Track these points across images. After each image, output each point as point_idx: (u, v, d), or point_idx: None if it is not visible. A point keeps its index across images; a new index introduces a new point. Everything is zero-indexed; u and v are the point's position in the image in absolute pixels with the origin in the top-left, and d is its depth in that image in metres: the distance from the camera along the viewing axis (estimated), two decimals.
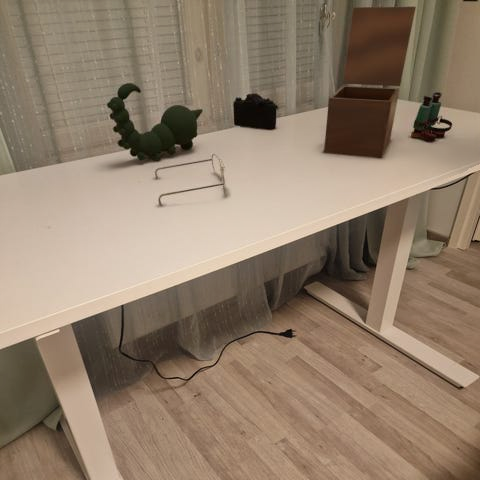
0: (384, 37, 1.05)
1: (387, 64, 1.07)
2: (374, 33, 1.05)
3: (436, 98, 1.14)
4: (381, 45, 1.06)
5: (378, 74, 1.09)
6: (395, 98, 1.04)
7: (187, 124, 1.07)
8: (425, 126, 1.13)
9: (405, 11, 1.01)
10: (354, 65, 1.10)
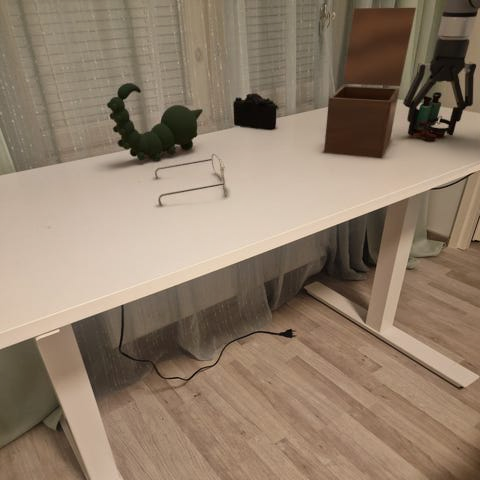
0: (385, 37, 1.06)
1: (387, 64, 1.07)
2: (374, 33, 1.06)
3: (436, 98, 1.14)
4: (381, 46, 1.06)
5: (378, 74, 1.09)
6: (395, 98, 1.04)
7: (187, 124, 1.07)
8: (425, 126, 1.13)
9: (405, 12, 1.02)
10: (355, 65, 1.10)
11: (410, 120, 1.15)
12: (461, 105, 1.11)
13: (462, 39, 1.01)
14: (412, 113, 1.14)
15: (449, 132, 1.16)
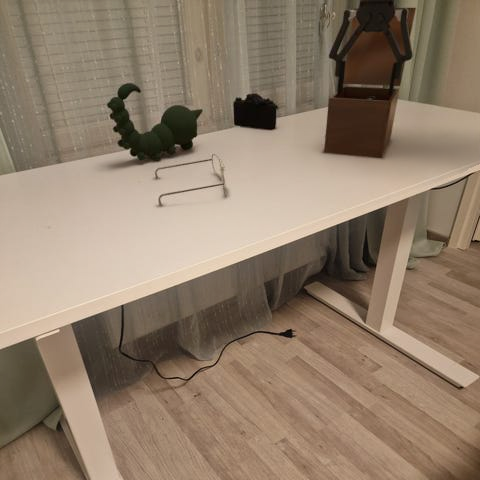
0: (385, 37, 1.06)
1: (387, 64, 1.07)
2: (374, 33, 1.06)
3: None
4: (381, 46, 1.06)
5: (378, 74, 1.09)
6: (395, 98, 1.04)
7: (187, 124, 1.07)
8: None
9: None
10: (355, 65, 1.10)
11: (337, 75, 1.04)
12: (398, 59, 0.97)
13: None
14: (338, 66, 1.03)
15: (389, 91, 1.02)
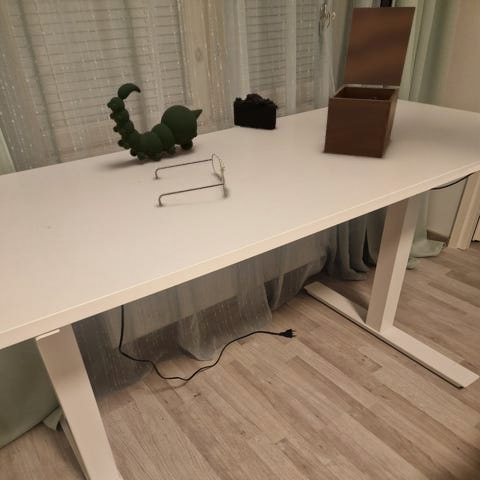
0: (384, 37, 1.05)
1: (387, 64, 1.07)
2: (374, 33, 1.06)
3: None
4: (381, 45, 1.06)
5: (378, 74, 1.09)
6: (395, 98, 1.04)
7: (187, 124, 1.07)
8: None
9: (405, 11, 1.01)
10: (354, 65, 1.10)
11: None
12: None
13: None
14: None
15: None
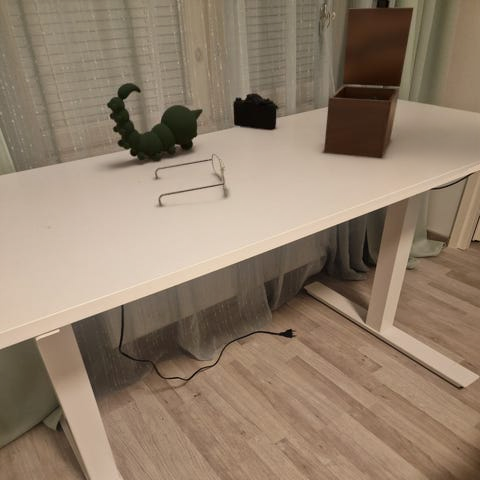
0: (382, 39, 1.02)
1: (386, 65, 1.06)
2: (371, 35, 1.03)
3: None
4: (379, 47, 1.04)
5: (377, 75, 1.08)
6: (395, 98, 1.04)
7: (187, 124, 1.07)
8: None
9: (402, 13, 0.98)
10: (353, 66, 1.09)
11: None
12: None
13: None
14: None
15: None
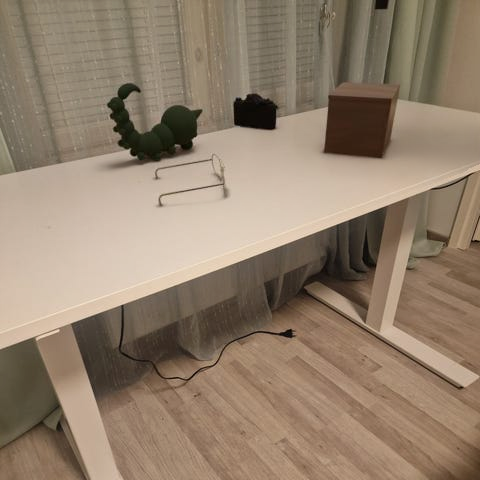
0: None
1: None
2: None
3: None
4: None
5: None
6: (395, 98, 1.04)
7: (187, 124, 1.07)
8: None
9: None
10: None
11: None
12: None
13: None
14: None
15: None
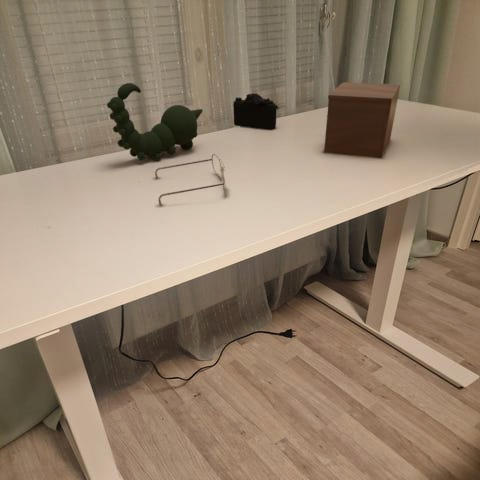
0: None
1: None
2: None
3: None
4: None
5: None
6: (395, 98, 1.04)
7: (187, 124, 1.07)
8: None
9: None
10: None
11: None
12: None
13: None
14: None
15: None
